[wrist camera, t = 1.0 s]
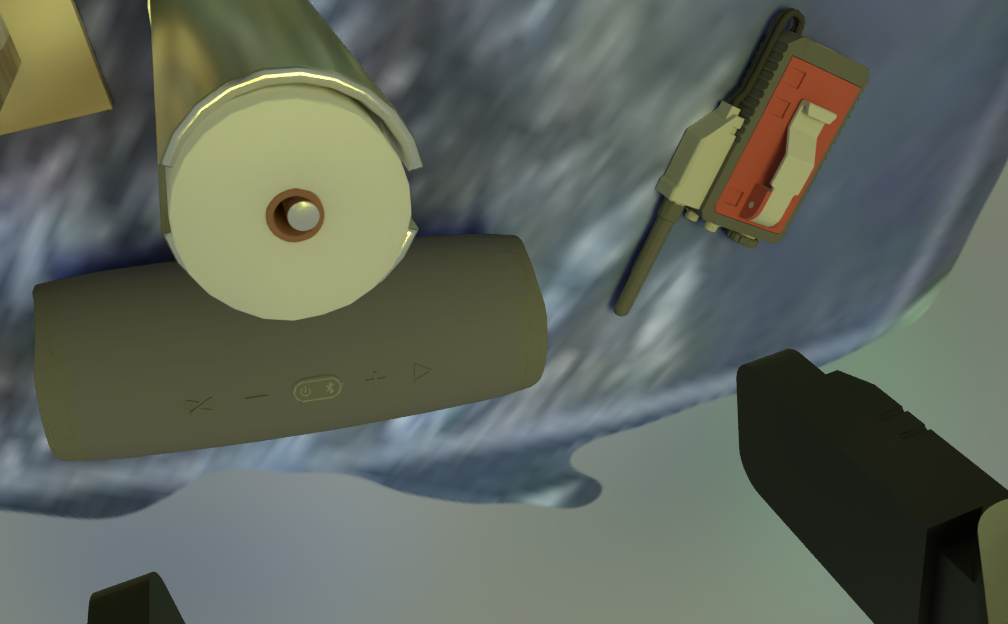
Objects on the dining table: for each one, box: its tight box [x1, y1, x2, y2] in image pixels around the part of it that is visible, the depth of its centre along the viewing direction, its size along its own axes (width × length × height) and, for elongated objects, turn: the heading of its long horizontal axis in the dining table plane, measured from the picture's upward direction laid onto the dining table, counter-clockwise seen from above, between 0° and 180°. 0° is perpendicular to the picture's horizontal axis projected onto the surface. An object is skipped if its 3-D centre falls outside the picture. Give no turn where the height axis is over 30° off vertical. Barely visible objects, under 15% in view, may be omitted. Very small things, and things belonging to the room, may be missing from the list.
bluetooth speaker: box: [32, 234, 548, 461], centre depth 46 cm, size 23×9×10 cm, turn 88°
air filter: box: [147, 0, 424, 321], centre depth 32 cm, size 6×6×25 cm
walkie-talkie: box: [614, 8, 869, 316], centre depth 54 cm, size 9×4×20 cm
